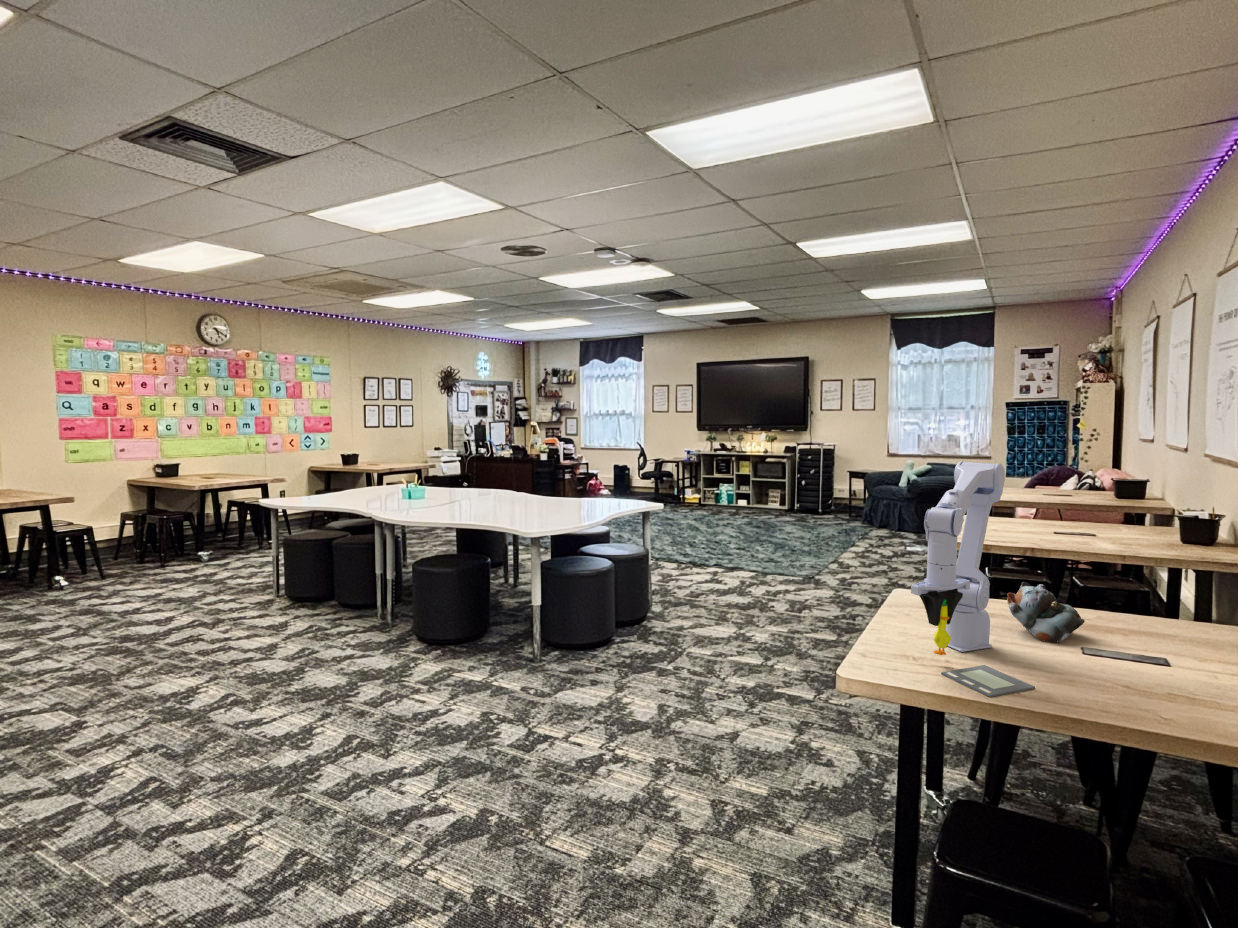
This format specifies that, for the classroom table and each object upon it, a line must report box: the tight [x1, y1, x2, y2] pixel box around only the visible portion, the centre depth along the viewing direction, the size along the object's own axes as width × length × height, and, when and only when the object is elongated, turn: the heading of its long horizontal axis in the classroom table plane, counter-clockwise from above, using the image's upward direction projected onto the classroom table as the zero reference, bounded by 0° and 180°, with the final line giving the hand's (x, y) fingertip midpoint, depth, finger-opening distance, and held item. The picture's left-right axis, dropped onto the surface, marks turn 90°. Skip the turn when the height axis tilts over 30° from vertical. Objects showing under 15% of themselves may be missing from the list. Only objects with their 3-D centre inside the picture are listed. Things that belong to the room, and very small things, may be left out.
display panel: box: [940, 664, 1036, 698], centre depth 138 cm, size 12×12×1 cm
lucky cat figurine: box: [1006, 581, 1086, 644], centre depth 166 cm, size 15×12×14 cm
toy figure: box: [933, 599, 951, 656], centre depth 147 cm, size 7×4×12 cm, turn 19°
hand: (939, 623), depth 147 cm, fingers closed on toy figure, 3 cm apart
